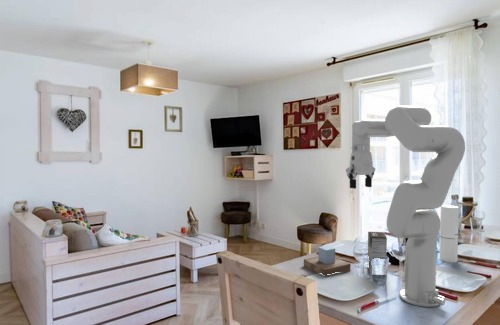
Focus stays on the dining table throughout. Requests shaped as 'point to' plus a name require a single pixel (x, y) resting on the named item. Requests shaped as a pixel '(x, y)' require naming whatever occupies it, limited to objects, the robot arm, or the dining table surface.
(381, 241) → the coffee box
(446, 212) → the cylindrical container
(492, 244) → the dining table surface
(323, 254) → the slate block
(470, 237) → the dining table surface
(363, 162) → the robot arm
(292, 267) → the dining table surface
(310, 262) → the walnut base
